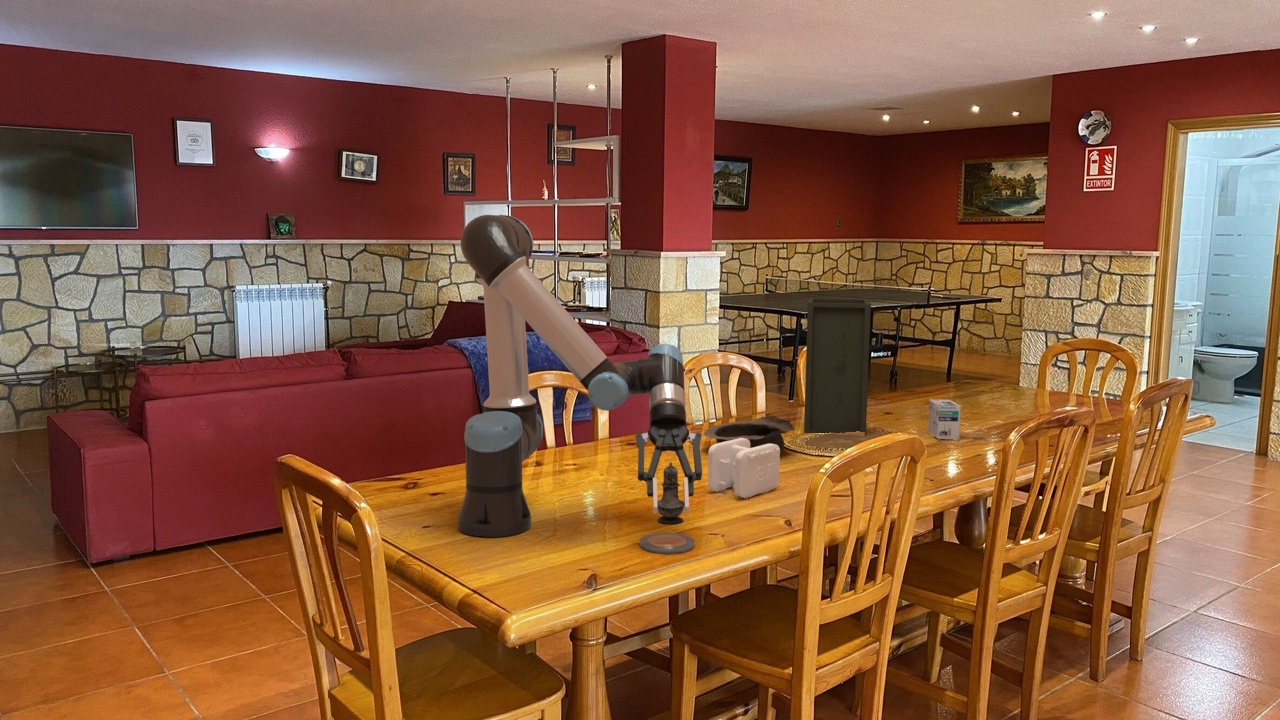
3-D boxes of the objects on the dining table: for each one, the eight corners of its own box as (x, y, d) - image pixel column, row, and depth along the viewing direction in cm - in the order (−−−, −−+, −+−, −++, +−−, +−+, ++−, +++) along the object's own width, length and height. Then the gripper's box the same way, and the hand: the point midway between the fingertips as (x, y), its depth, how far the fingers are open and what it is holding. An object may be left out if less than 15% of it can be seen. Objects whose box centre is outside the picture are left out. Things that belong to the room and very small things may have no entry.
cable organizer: (746, 481, 241) (747, 435, 239) (781, 490, 233) (782, 442, 232) (706, 493, 230) (707, 445, 229) (741, 502, 223) (742, 452, 221)
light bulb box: (959, 441, 288) (961, 405, 286) (937, 440, 288) (938, 405, 287) (949, 433, 299) (950, 398, 297) (927, 433, 299) (928, 398, 297)
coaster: (629, 541, 195) (629, 537, 194) (675, 533, 200) (675, 528, 200) (658, 557, 185) (658, 553, 185) (705, 548, 191) (705, 544, 191)
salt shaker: (651, 523, 190) (651, 464, 189) (660, 515, 196) (661, 457, 194) (680, 527, 188) (680, 466, 187) (688, 518, 194) (689, 459, 192)
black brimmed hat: (811, 454, 269) (811, 422, 267) (742, 473, 255) (741, 439, 254) (753, 436, 289) (752, 406, 287) (686, 453, 276) (684, 422, 274)
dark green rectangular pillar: (804, 421, 314) (808, 298, 309) (862, 424, 311) (867, 299, 306) (803, 433, 296) (807, 303, 291) (865, 436, 293) (870, 304, 288)
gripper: (710, 420, 205) (717, 519, 191) (623, 420, 205) (623, 519, 191) (712, 400, 199) (720, 500, 185) (623, 400, 199) (623, 501, 185)
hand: (671, 510), depth 188 cm, fingers closed on salt shaker, 5 cm apart
